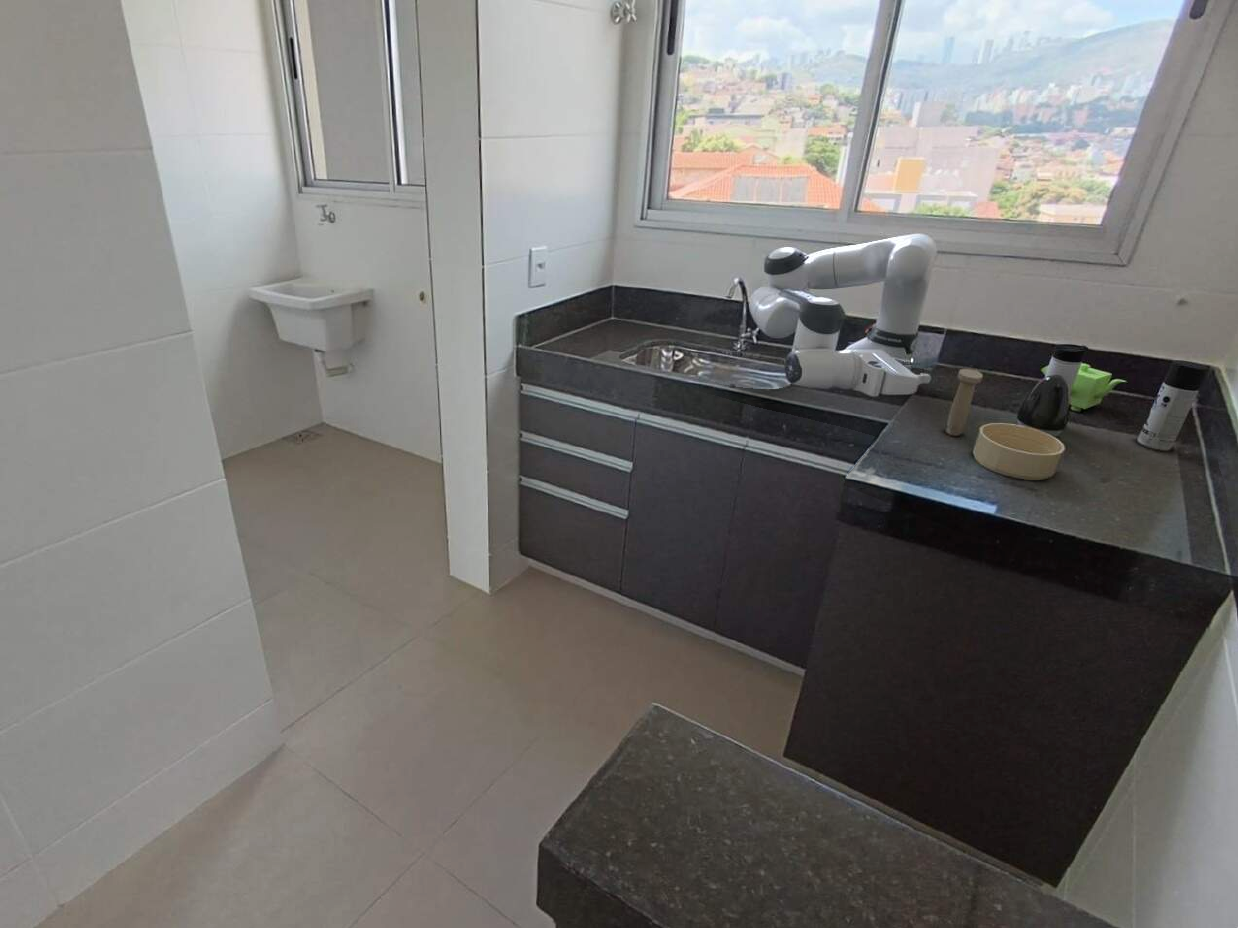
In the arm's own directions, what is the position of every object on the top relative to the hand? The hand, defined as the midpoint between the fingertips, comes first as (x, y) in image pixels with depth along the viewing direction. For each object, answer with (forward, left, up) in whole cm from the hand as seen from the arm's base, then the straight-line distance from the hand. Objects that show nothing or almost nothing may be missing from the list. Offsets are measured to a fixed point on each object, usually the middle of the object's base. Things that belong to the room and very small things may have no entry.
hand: (919, 371), depth 152 cm
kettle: (+22, +55, -15) cm, 61 cm away
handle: (+8, +9, -15) cm, 20 cm away
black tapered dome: (+22, +24, -15) cm, 36 cm away
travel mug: (+21, +35, -15) cm, 44 cm away
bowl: (+23, +3, -15) cm, 28 cm away
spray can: (+43, +41, -15) cm, 62 cm away
